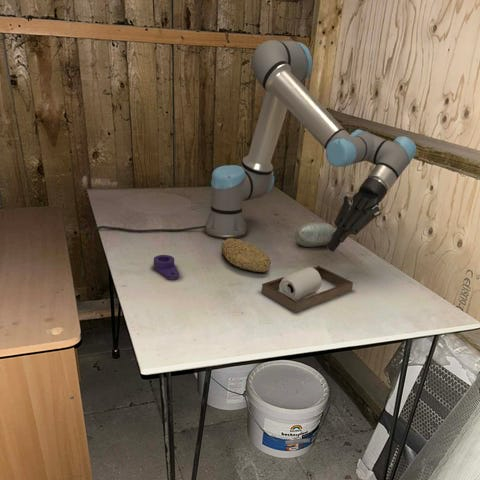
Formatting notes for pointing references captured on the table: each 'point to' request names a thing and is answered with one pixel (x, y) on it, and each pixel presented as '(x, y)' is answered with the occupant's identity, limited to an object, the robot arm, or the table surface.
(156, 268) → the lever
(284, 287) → the can
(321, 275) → the walnut frame
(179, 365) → the table surface
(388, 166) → the robot arm
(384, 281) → the table surface
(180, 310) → the table surface
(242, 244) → the sponge
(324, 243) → the streaked grey-green pebble
